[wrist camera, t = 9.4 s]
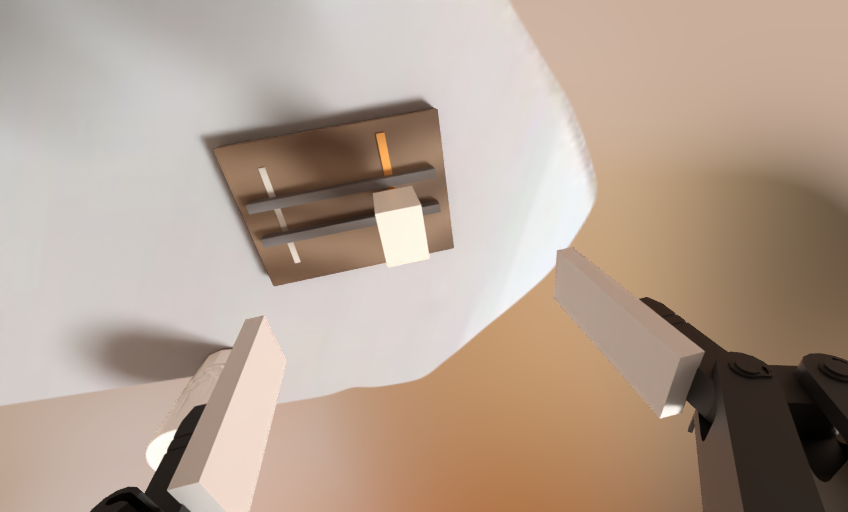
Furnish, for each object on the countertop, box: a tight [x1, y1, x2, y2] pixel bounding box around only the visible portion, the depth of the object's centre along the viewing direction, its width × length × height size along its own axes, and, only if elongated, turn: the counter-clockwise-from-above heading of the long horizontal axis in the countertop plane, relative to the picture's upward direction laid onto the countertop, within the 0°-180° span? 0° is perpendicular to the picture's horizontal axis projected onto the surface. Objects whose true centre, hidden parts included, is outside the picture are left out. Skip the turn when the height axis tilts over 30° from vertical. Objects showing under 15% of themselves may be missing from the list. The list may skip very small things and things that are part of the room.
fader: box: [373, 186, 430, 268], centre depth 26 cm, size 4×3×8 cm
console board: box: [213, 108, 454, 286], centre depth 30 cm, size 13×18×2 cm
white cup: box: [145, 349, 232, 472], centre depth 33 cm, size 8×8×10 cm
